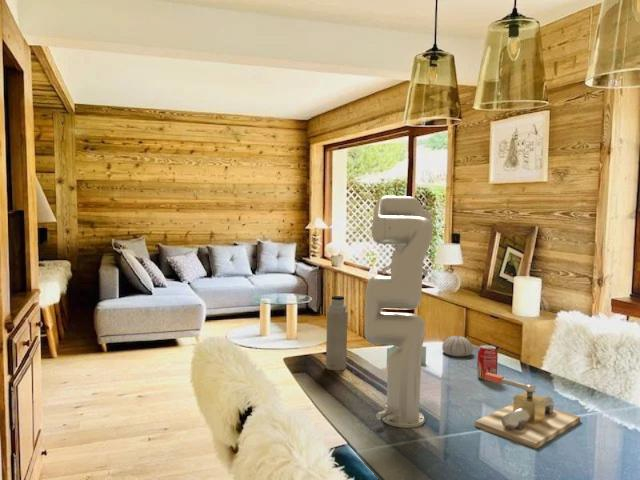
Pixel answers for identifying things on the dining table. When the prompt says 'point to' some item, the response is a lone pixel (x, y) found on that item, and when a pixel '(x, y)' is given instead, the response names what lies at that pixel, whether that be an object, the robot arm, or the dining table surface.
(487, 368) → the soda can
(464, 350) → the sea urchin shell
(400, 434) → the dining table surface
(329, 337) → the thermos bottle
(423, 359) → the right angle wall
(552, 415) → the valve stand
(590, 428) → the dining table surface
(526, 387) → the valve lever
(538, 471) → the dining table surface
